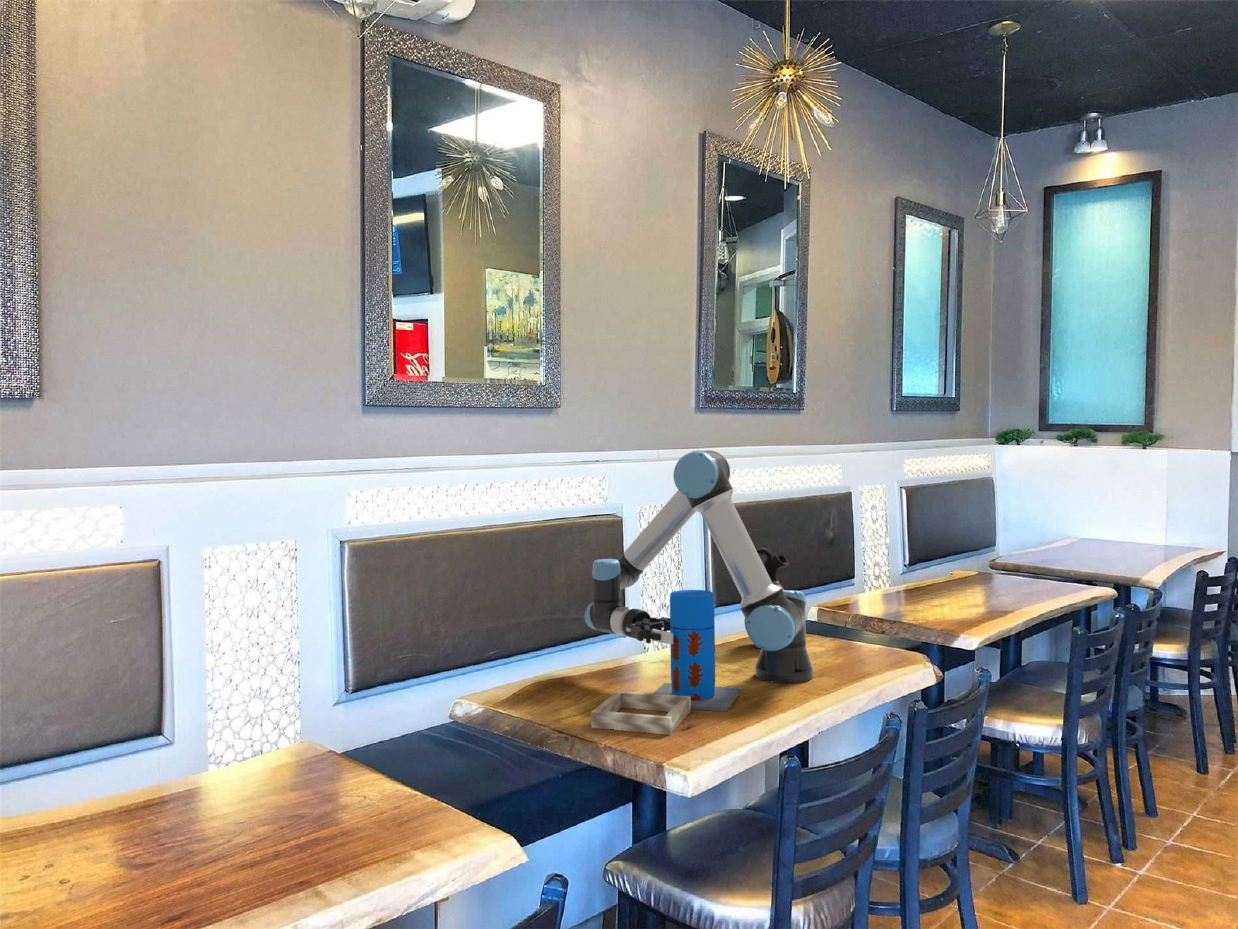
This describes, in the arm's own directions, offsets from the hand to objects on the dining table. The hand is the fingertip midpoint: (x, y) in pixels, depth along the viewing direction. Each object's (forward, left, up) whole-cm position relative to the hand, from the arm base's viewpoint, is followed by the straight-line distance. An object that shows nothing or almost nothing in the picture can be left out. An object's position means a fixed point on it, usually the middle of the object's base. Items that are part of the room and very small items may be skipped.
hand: (691, 634), depth 224 cm
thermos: (0, 0, -15) cm, 15 cm away
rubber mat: (0, 0, -16) cm, 16 cm away
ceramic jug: (-8, -62, -16) cm, 65 cm away
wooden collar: (+7, +20, -16) cm, 26 cm away
